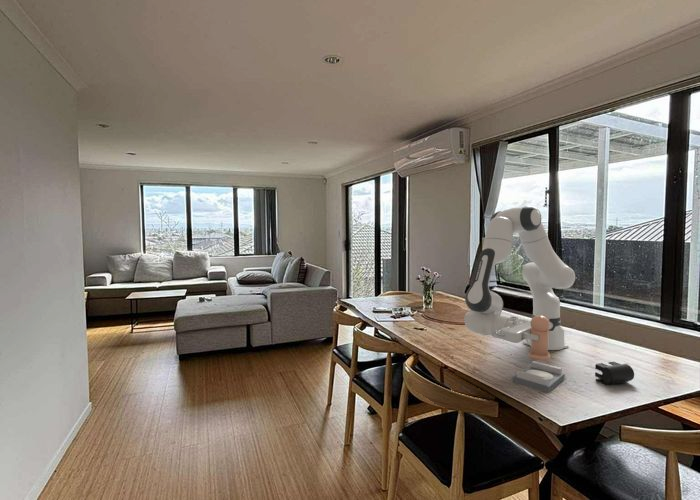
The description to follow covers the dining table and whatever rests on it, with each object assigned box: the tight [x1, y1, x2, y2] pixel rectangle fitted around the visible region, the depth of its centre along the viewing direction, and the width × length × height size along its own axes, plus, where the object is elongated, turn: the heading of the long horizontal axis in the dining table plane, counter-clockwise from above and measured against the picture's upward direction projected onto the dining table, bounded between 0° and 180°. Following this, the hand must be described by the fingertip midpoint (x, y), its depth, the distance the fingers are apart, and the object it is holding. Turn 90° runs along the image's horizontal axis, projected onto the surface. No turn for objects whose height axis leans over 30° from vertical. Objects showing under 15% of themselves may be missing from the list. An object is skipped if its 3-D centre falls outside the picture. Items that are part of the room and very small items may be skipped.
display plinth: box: [512, 360, 566, 393], centre depth 135 cm, size 16×12×4 cm
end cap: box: [594, 361, 635, 386], centre depth 133 cm, size 10×7×7 cm
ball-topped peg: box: [528, 315, 551, 361], centre depth 134 cm, size 7×7×15 cm
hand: (542, 335), depth 133 cm, fingers closed on ball-topped peg, 6 cm apart
